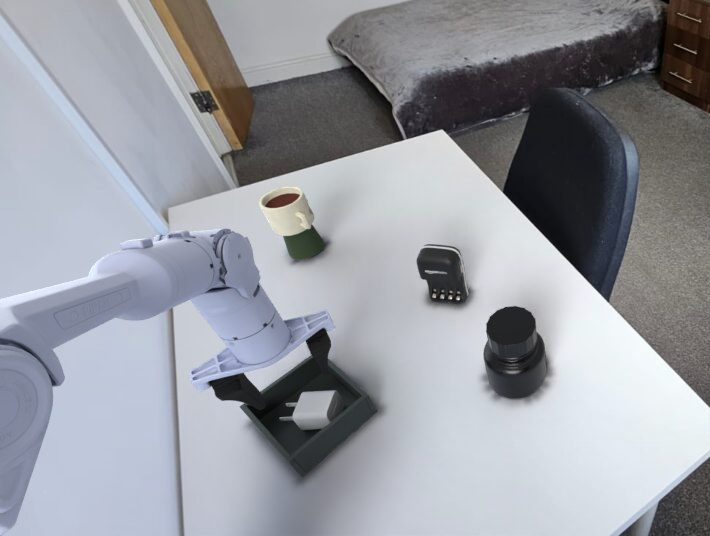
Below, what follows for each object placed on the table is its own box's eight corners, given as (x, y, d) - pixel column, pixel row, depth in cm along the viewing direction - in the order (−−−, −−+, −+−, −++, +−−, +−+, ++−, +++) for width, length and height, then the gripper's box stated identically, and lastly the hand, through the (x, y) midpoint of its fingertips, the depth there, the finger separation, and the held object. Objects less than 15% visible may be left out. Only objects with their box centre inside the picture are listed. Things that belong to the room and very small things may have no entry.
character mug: (342, 250, 92) (318, 197, 83) (309, 272, 87) (280, 218, 78) (307, 231, 96) (281, 178, 87) (274, 251, 91) (243, 197, 83)
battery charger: (425, 304, 82) (410, 257, 74) (433, 288, 85) (419, 241, 77) (464, 308, 81) (453, 261, 74) (470, 292, 84) (461, 245, 77)
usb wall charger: (335, 430, 64) (325, 415, 61) (283, 433, 64) (270, 418, 61) (344, 403, 67) (335, 388, 64) (294, 405, 67) (283, 390, 64)
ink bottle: (558, 360, 74) (556, 311, 66) (534, 409, 67) (529, 361, 60) (502, 342, 76) (494, 292, 68) (475, 388, 70) (462, 339, 62)
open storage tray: (302, 477, 60) (288, 462, 57) (254, 423, 65) (239, 406, 62) (377, 411, 67) (368, 394, 64) (328, 367, 72) (318, 349, 69)
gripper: (306, 270, 57) (342, 337, 66) (162, 328, 51) (224, 395, 59) (323, 305, 53) (359, 372, 62) (169, 374, 46) (234, 438, 55)
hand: (294, 386), depth 61 cm, fingers open, 7 cm apart
